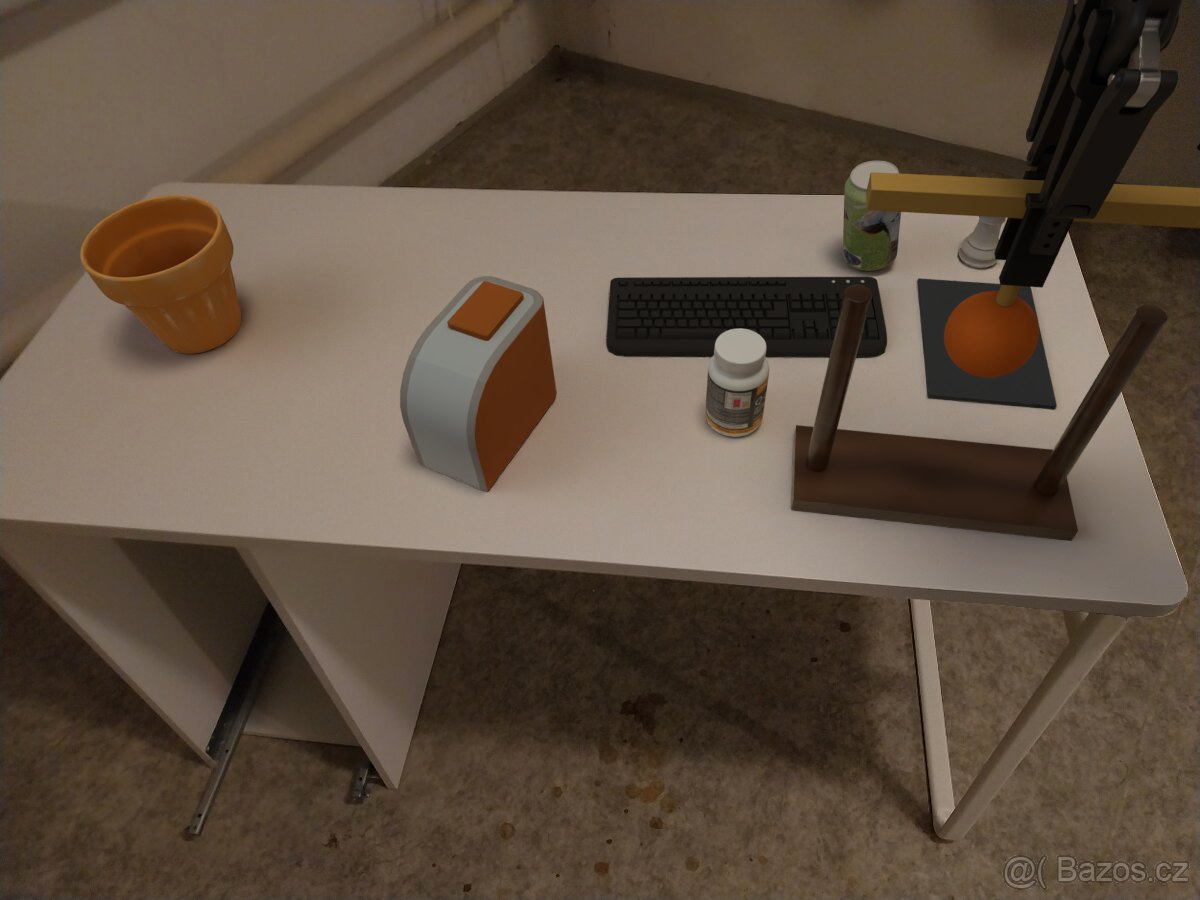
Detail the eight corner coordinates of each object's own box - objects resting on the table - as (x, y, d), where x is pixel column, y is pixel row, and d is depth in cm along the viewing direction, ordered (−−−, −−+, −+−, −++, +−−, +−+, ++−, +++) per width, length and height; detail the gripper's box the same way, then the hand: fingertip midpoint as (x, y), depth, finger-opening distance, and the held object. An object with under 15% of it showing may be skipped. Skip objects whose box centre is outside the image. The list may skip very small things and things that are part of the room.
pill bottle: (766, 437, 81) (777, 366, 74) (707, 440, 82) (712, 369, 74) (758, 395, 85) (768, 322, 77) (702, 397, 85) (706, 325, 77)
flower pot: (280, 286, 100) (238, 192, 90) (245, 371, 91) (194, 277, 81) (166, 288, 101) (112, 195, 91) (121, 373, 92) (54, 280, 82)
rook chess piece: (994, 246, 98) (1017, 186, 91) (1000, 270, 95) (1024, 211, 89) (954, 244, 98) (974, 185, 92) (959, 269, 95) (980, 209, 89)
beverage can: (904, 268, 96) (931, 176, 87) (849, 286, 95) (870, 194, 85) (874, 237, 100) (896, 146, 90) (820, 254, 98) (837, 163, 89)
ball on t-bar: (1140, 408, 61) (1260, 230, 49) (832, 382, 64) (872, 209, 52) (1122, 347, 65) (1228, 169, 53) (832, 325, 68) (869, 153, 56)
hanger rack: (1071, 540, 72) (1200, 361, 55) (791, 510, 76) (830, 332, 59) (1055, 460, 78) (1167, 274, 61) (794, 434, 81) (830, 252, 64)
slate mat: (1055, 409, 82) (1057, 406, 81) (927, 398, 83) (929, 394, 83) (1029, 289, 93) (1030, 285, 92) (917, 281, 94) (918, 278, 94)
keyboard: (606, 356, 90) (605, 342, 88) (611, 289, 96) (610, 276, 95) (888, 357, 87) (892, 343, 86) (873, 289, 94) (876, 275, 92)
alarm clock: (495, 364, 90) (473, 263, 79) (564, 388, 87) (551, 287, 76) (415, 462, 82) (379, 365, 71) (488, 492, 79) (462, 395, 68)
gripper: (1072, -179, 44) (951, 202, 62) (1135, -69, 35) (971, 341, 53) (1227, -181, 43) (1057, 207, 61) (1334, -67, 34) (1097, 350, 52)
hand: (1018, 269), depth 57 cm, fingers closed on ball on t-bar, 2 cm apart
